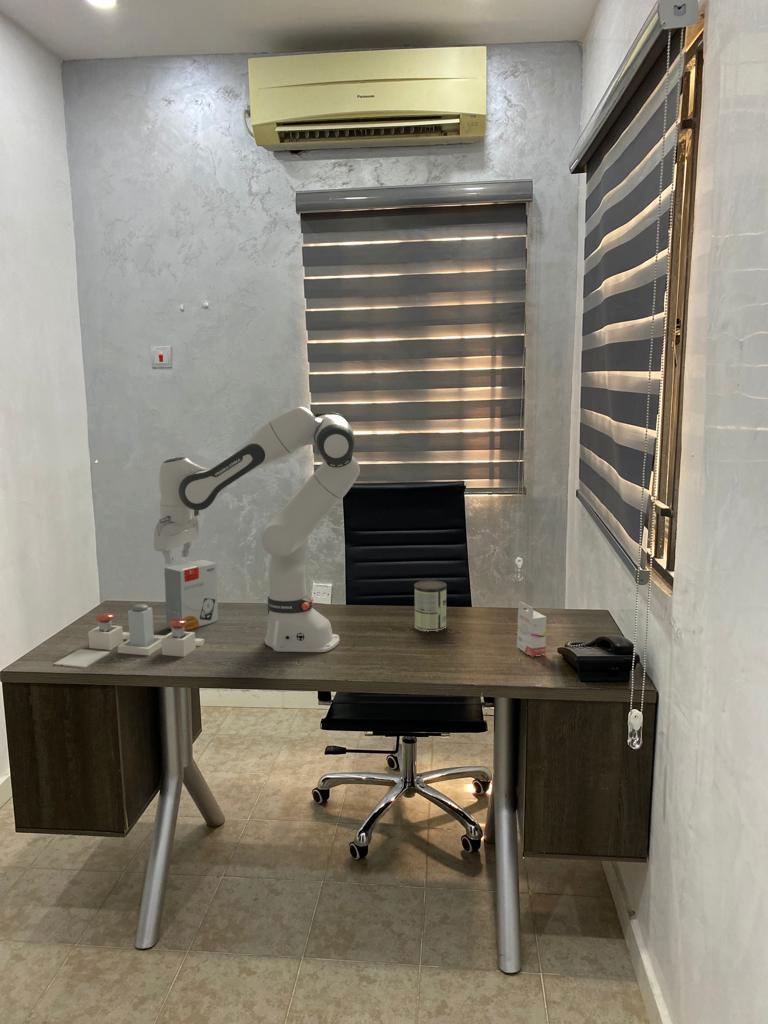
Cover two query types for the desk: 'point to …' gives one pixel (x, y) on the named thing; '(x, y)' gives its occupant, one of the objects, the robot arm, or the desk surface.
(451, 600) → the desk surface
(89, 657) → the pad
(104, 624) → the plunger
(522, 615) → the ink cartridge box
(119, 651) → the socket
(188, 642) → the tower
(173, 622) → the plunger
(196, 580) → the hard drive box
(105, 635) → the tower
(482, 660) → the desk surface
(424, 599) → the coffee can
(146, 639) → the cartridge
